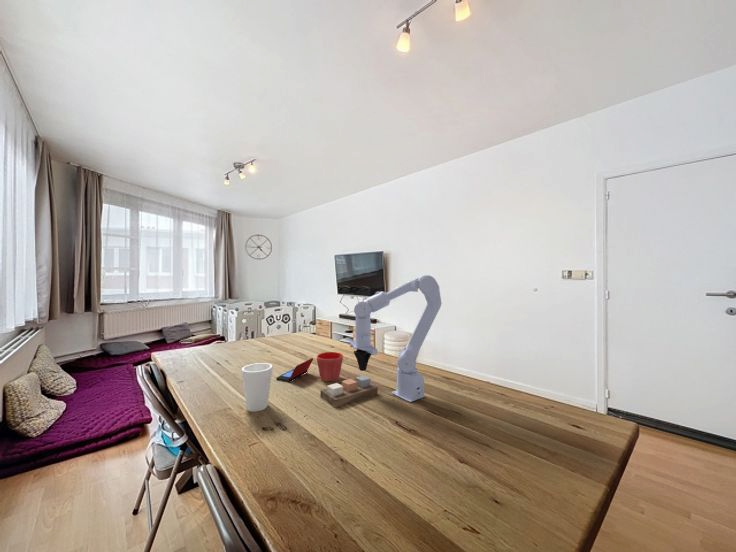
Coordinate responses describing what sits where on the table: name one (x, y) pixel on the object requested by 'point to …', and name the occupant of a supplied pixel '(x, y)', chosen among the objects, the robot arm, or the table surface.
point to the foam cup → (256, 385)
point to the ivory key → (334, 389)
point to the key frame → (349, 395)
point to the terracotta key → (349, 385)
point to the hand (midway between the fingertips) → (362, 370)
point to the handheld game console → (296, 371)
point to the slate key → (362, 381)
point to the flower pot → (329, 365)
